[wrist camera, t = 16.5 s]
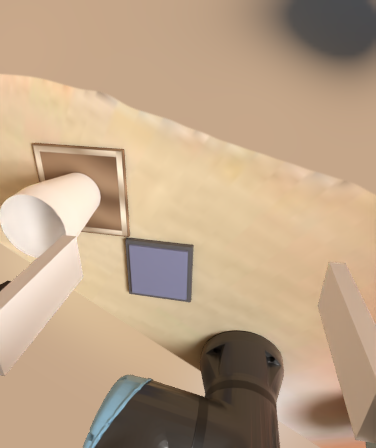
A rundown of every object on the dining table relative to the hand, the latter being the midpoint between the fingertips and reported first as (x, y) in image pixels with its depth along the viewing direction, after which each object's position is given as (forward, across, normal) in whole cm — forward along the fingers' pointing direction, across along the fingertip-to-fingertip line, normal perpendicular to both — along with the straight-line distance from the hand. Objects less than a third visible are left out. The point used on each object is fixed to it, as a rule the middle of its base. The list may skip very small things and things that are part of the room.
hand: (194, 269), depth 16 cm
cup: (+28, +22, +8) cm, 37 cm away
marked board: (+29, +22, +8) cm, 37 cm away
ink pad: (+29, +10, +21) cm, 37 cm away
